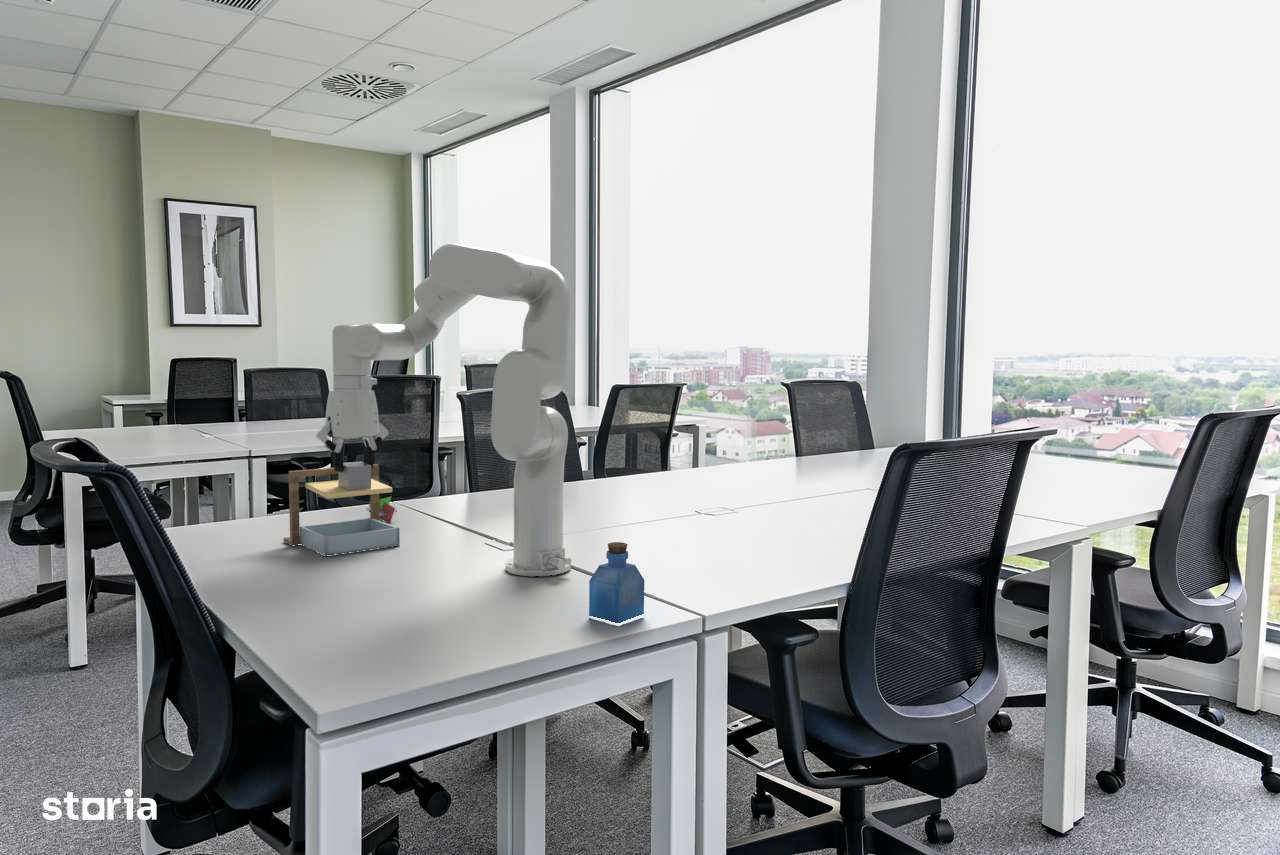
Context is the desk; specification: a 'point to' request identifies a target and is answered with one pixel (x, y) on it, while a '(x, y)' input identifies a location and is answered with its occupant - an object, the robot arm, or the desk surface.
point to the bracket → (295, 484)
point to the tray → (349, 536)
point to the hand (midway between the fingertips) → (353, 469)
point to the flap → (334, 491)
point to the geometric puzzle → (385, 509)
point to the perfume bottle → (616, 587)
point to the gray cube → (355, 476)
